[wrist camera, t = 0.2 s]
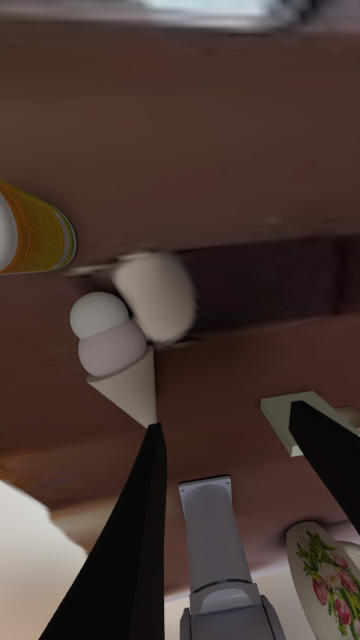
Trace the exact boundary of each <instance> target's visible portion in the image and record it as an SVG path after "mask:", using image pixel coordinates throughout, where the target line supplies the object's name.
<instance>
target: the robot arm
mask: <svg viewBox="0 0 360 640" xmlns="http://www.w3.org/2000/svg"><path fill="white" fill-rule="evenodd" d="M288 430H289V431H290V433H291V435H292V437H293V438H294V440H295V442H296V444H297V445H298V447H299V449H300V450H301V452H302V453H303V455H304V456H305V458H306V459H307V460H308V462H309V463H310V465H311V466H312V467H313V469H314V470H315V472H316V473H317V474H318V476H319V477H320V479H321V480H322V481H323V483H324V484H325V485H326V487H327V488H328V490H329V491H330V492H331V494H332V495H333V497H334V498H335V499H336V501H337V502H338V504H339V505H340V506H341V508H342V509H343V511H344V512H345V514H346V515H347V517H348V518H349V520H350V521H351V523H352V524H353V526H354V527H355V529H356V531H357V532H358V534H359V535H360V436H358V435H356V434H355V433H353V432H352V431H350V430H348V429H347V428H345V427H344V426H342V425H341V424H339V423H337V422H336V421H334V420H333V419H331V418H330V417H328V416H326V415H325V414H323V413H322V412H320V411H319V410H317V409H316V408H314V407H313V406H311V405H309V404H308V403H306V402H305V401H303V400H299V401H292V402H291V408H290V417H289V427H288ZM166 490H167V449H166V444H165V440H164V435H163V431H162V426H161V423H155V424H149V425H148V427H147V431H146V434H145V437H144V440H143V442H142V445H141V448H140V450H139V453H138V456H137V458H136V460H135V463H134V465H133V468H132V470H131V473H130V475H129V477H128V479H127V481H126V484H125V486H124V488H123V490H122V492H121V494H120V497H119V499H118V501H117V503H116V505H115V507H114V509H113V511H112V513H111V515H110V517H109V519H108V521H107V523H106V525H105V527H104V529H103V530H102V532H101V534H100V536H99V538H98V540H97V542H96V543H95V545H94V547H93V549H92V551H91V552H90V554H89V556H88V558H87V560H86V561H85V563H84V565H83V567H82V568H81V570H80V572H79V574H78V575H77V577H76V579H75V581H74V582H73V584H72V586H71V587H70V589H69V590H68V592H67V594H66V596H65V597H64V599H63V600H62V602H61V603H60V605H59V607H58V609H57V610H56V612H55V613H54V615H53V617H52V618H51V620H50V622H49V623H48V625H47V627H46V628H45V630H44V631H43V633H42V635H41V636H40V638H39V639H38V640H165V634H164V633H165V632H164V529H165V510H166ZM179 492H180V497H181V502H182V506H183V511H184V516H185V521H186V535H187V549H188V563H189V577H190V591H191V594H190V595H189V597H190V610H189V608H185V609H184V612H183V615H182V617H181V620H180V640H286V638H285V635H284V632H283V629H282V626H281V624H280V621H279V619H278V616H277V614H276V611H275V609H274V608H273V606H272V605H271V604H270V602H269V601H268V599H267V598H266V597H265V596H264V595H260V594H259V591H258V588H257V584H256V583H253V582H252V578H251V575H250V571H249V567H248V563H247V560H246V556H245V552H244V548H243V545H242V541H241V537H240V533H239V530H238V526H237V522H236V518H235V515H234V511H233V507H232V495H231V479H230V477H229V476H224V477H218V478H212V479H206V480H200V481H194V482H188V483H182V484H180V485H179ZM190 612H191V614H190Z"/></svg>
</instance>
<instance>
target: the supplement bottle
mask: <svg viewBox="0 0 360 640" xmlns="http://www.w3.org/2000/svg"><path fill="white" fill-rule="evenodd" d="M75 252H76V236H75V232H74V230H73V227H72V225H71V224H70V222H69V221H68V219H67V218H66V217H65V215H64V214H63V213H62V212H61V211H59V210H58V209H57V208H56V207H54V206H52V205H51V204H49V203H47V202H45V201H43V200H41V199H39V198H37V197H35V196H33V195H31V194H28V193H26V192H24V191H22V190H20V189H18V188H16V187H14V186H12V185H10V184H8V183H6V182H4V181H2V180H0V275H5V274H19V273H32V272H46V271H54V270H59V269H61V268H63V267H65V266H66V265H68V264H69V263H70V262H71V260H72V259H73V257H74V255H75Z"/></svg>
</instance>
